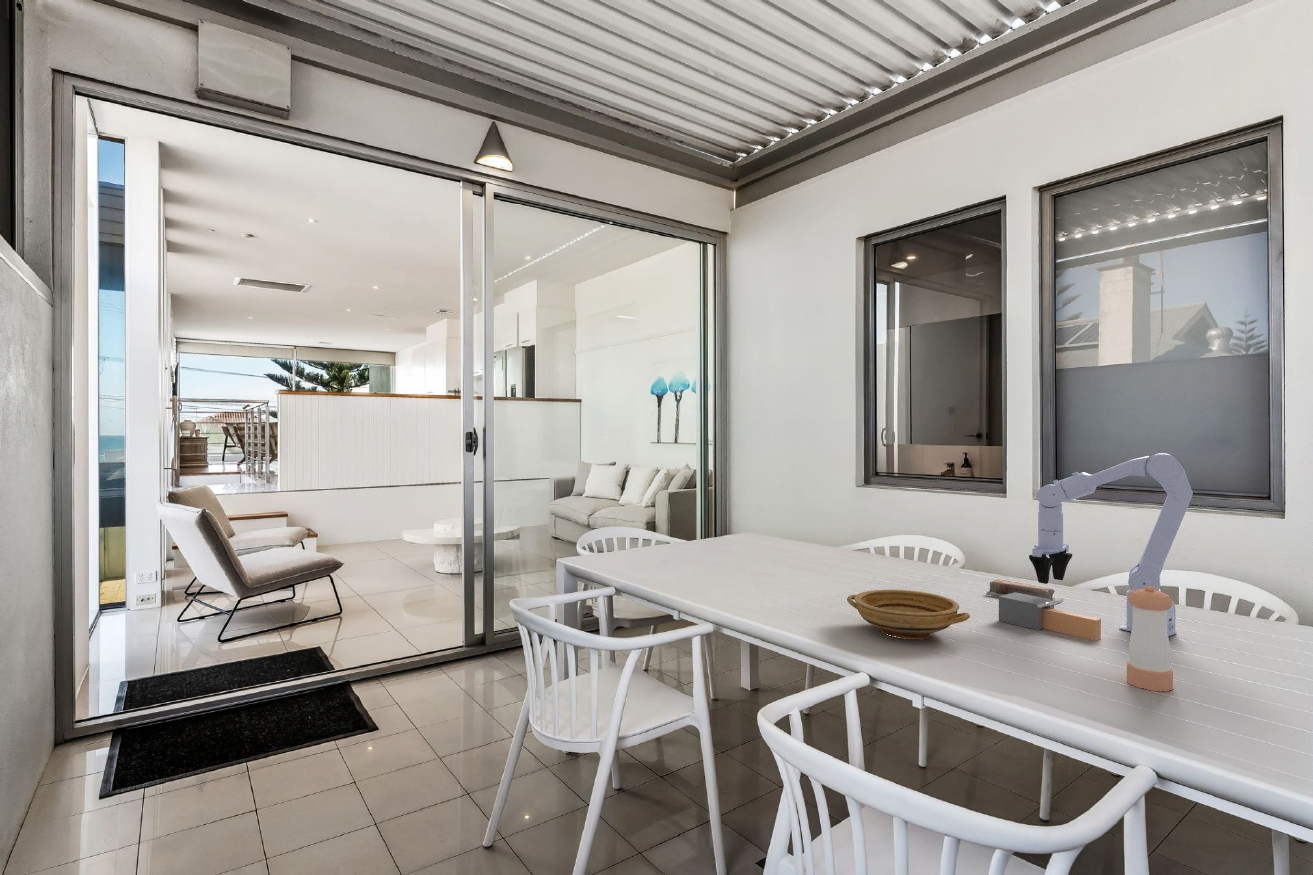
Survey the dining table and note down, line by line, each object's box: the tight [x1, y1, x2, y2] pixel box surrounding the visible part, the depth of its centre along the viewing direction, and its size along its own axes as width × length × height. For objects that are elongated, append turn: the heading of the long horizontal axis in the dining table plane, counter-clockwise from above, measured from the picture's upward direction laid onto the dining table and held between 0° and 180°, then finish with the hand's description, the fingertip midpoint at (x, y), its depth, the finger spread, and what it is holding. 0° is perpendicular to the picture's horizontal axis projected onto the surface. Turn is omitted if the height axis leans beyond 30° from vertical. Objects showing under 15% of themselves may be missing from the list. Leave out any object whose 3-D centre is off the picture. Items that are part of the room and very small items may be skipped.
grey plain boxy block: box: [998, 592, 1058, 631], centre depth 174 cm, size 11×8×6 cm
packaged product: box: [985, 578, 1064, 606], centre depth 200 cm, size 18×5×10 cm
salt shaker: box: [1126, 586, 1174, 692], centre depth 132 cm, size 7×7×19 cm
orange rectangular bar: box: [1043, 607, 1102, 641], centre depth 167 cm, size 16×2×5 cm, turn 34°
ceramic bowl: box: [846, 589, 971, 640], centre depth 167 cm, size 30×24×8 cm
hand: (1050, 581), depth 179 cm, fingers open, 7 cm apart
